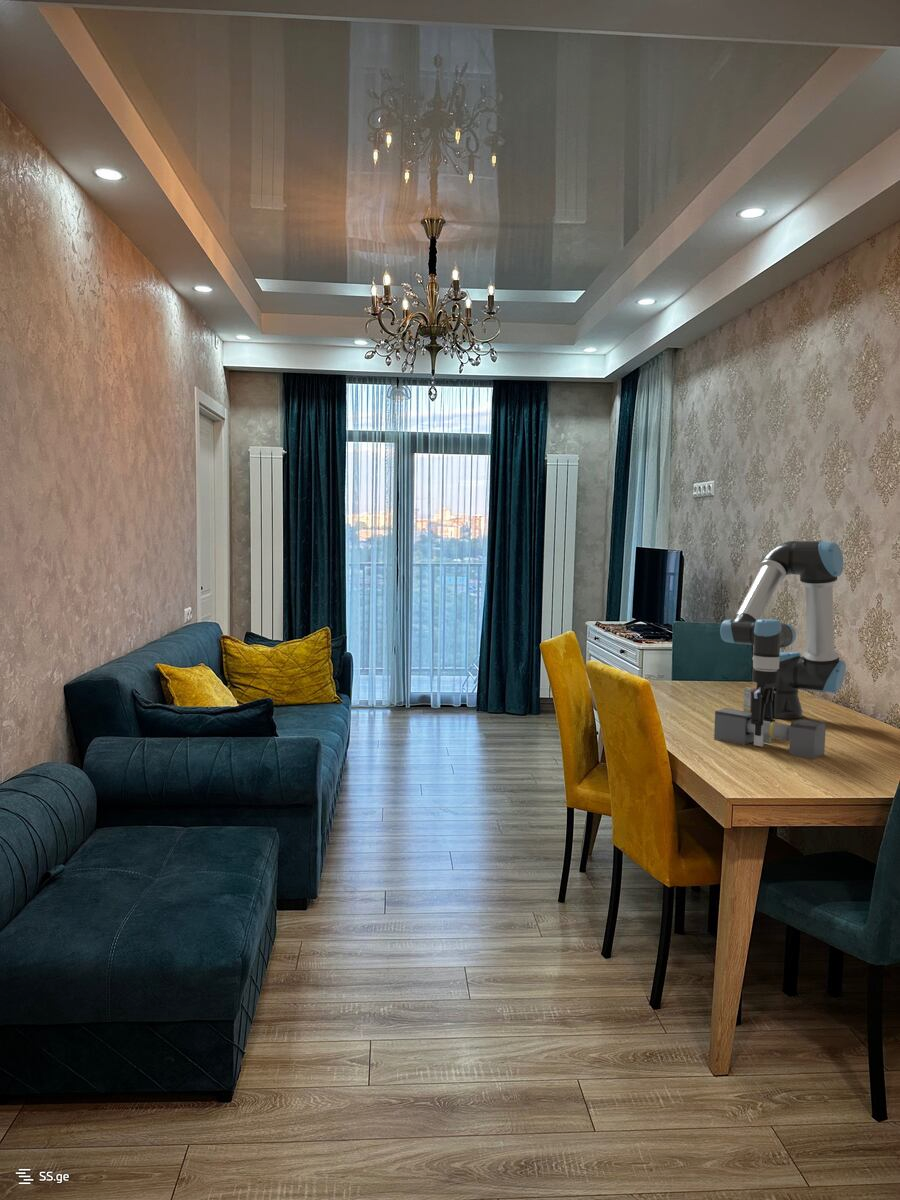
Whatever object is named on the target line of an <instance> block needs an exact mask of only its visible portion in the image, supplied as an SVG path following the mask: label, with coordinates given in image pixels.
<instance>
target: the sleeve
mask: <svg viewBox="0 0 900 1200" xmlns="http://www.w3.org/2000/svg"><path fill="white" fill-rule="evenodd" d="M751 714H752V713H751V712H745V711H744V710H739V709H733V708H727V707H725V708H722V709H718V710H715V711H714V733H713V740H717V741H722V742H728V743H732V744H737V745H741V746H745V745H748V744H752V743H754V734H751V733H746V723H747V718H751Z"/></svg>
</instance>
